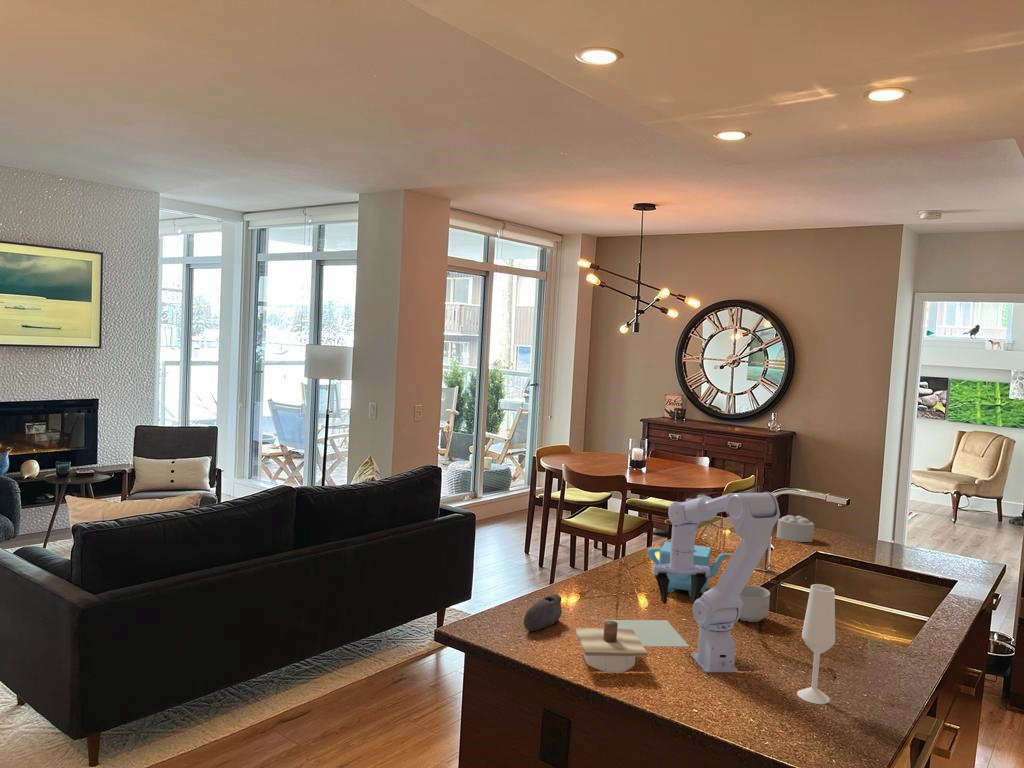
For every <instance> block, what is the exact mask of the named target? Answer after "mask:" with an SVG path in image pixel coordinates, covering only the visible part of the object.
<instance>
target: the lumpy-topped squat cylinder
mask: <svg viewBox="0 0 1024 768" xmlns="http://www.w3.org/2000/svg"><path fill="white" fill-rule="evenodd" d="M776 526H777V528H776V538H777V539H780V540H783V539H785V540H784V541H787V540H792V541H799V542H812V541H813V542H814V531H815V523H814V522H812V521H810V520H809V519H808V518H806V517H803V516H802V515H796V516H794V515H790V514H787V515H785V516H781V517H779V518H778V520H777V525H776ZM792 541H791V542H792ZM799 542H798V543H799ZM813 542H812V543H813Z"/></svg>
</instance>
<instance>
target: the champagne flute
mask: <svg viewBox="0 0 1024 768" xmlns="http://www.w3.org/2000/svg"><path fill="white" fill-rule="evenodd" d="M809 589H810V590H809V593H808V594H809V595H808V600H807V605H806V612H805V616H804V621H803V626H802V632H801V637H802V640H803V642H804V643H805V645H806V646H807V647H808V649H809V650H810V651H812V652H813V665H812V673H811V675H812V676H811V686H810V687H807V688H803V689H800V690H798V691H797V692H796V695H797V696H798V697H799V698H800V699H802V700H803V701H805V702H808V703H812V704H817V705H824V704H828V703H829V702H830V701H831V699H830V697H829V695H827V694H825V693H824V692H823V691H822V690H820V689H819V688H818V680H819V672H820V671H819V668H820V659H821V654H824V653H826V652H827V651H829V650H830V649H831V648H832V647H833V646H834V645H835V643H836V604H835V603H836V601H835V599H836V598H835V597H836V596H835V595H836V594H835V588H834V587H831V586H829V585H825V584H822V583H821V584H820V583H816V584H811V585H810V588H809Z"/></svg>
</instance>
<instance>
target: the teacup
mask: <svg viewBox="0 0 1024 768" xmlns="http://www.w3.org/2000/svg"><path fill="white" fill-rule="evenodd" d="M739 596H740V598H741V600H742V602H743V606H742V608H741V611H740V617H739V619H741V620H740V621H742V620H743V621H742V622H745V621H748V622H747V623H758V622H760V621H762V620H763V619H765V618H766V617H767V616H768V614H769V612H770V611H769V610H770V601H771V600H770V597H771V592H770V591H769V590H768V589H766V588H765V587H762V586H759V585H754V584H746V585H745V587H744V588H743V590H742V592H741V593H740V595H739ZM739 619H738V620H739Z"/></svg>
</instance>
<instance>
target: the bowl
mask: <svg viewBox="0 0 1024 768" xmlns="http://www.w3.org/2000/svg"><path fill="white" fill-rule="evenodd" d="M583 658H584V660H585V663H586V664H587V666H588V667H591V668H592V669H596V670H599V671H602V672H601V673H604V672H608V673H607V674H614V673H616V674H620V673H619V672H624V673H626V672H625V671H629V670H631V669H632V668H633V667H634V666H636V656H585V654H584V653H583Z"/></svg>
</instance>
